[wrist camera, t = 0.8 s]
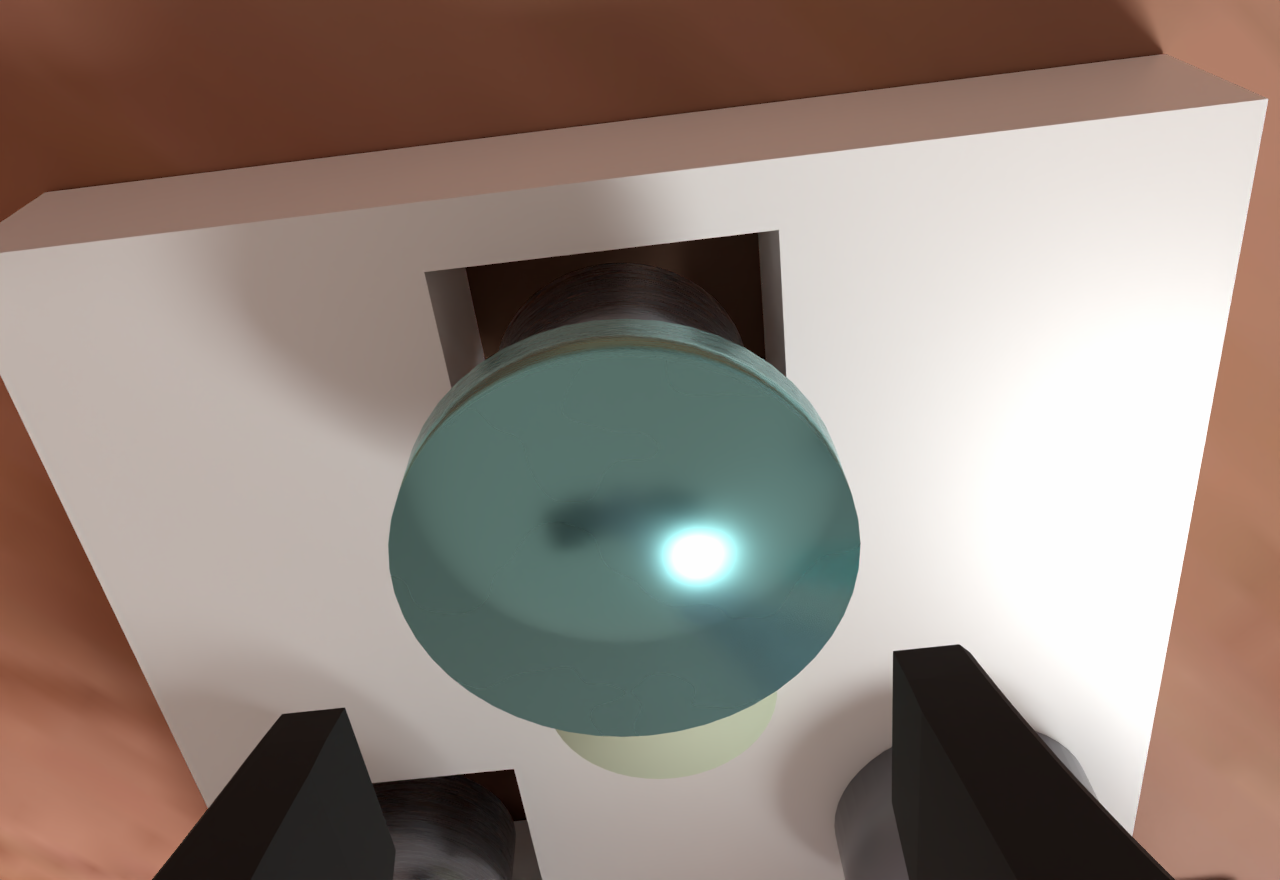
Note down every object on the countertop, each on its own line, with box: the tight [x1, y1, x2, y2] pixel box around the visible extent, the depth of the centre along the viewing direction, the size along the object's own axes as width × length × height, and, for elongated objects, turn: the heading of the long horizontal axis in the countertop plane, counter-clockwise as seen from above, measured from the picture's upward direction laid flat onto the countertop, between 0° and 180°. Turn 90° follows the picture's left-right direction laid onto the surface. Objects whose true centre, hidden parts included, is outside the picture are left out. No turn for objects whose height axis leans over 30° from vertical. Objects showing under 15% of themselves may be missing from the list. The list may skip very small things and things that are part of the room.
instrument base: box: [0, 54, 1268, 880], centre depth 19 cm, size 18×18×5 cm
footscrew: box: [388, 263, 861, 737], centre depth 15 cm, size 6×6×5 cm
